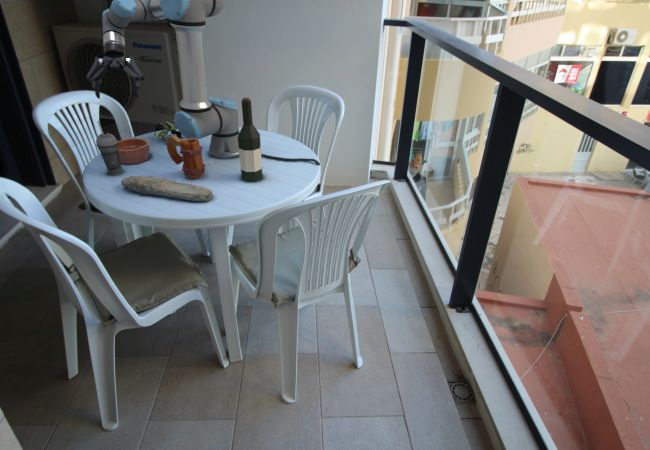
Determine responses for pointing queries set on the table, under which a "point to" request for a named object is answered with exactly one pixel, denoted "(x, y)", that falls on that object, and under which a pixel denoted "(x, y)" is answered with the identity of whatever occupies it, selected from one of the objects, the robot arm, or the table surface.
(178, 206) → the table surface
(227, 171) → the table surface
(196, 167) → the mug
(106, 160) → the beverage cup
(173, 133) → the passion flower
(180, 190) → the long grey stone
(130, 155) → the bowl
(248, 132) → the wine bottle
